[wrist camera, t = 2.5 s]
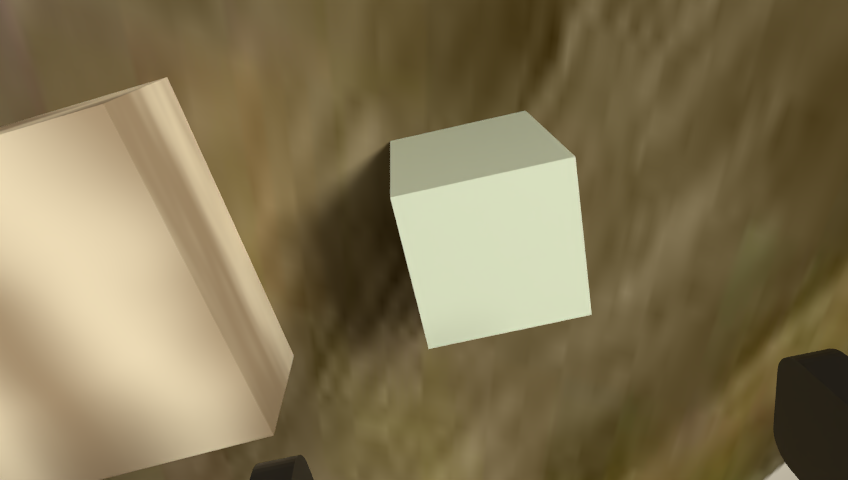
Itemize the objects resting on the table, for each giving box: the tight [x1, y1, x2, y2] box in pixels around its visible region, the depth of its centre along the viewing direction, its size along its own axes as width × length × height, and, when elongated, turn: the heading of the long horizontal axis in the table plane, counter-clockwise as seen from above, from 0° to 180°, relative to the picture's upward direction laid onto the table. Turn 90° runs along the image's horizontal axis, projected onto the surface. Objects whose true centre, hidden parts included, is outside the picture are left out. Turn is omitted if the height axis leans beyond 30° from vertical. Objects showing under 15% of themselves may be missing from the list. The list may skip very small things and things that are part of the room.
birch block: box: [0, 77, 294, 480], centre depth 20 cm, size 12×12×5 cm
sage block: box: [390, 111, 592, 349], centre depth 19 cm, size 5×5×6 cm
